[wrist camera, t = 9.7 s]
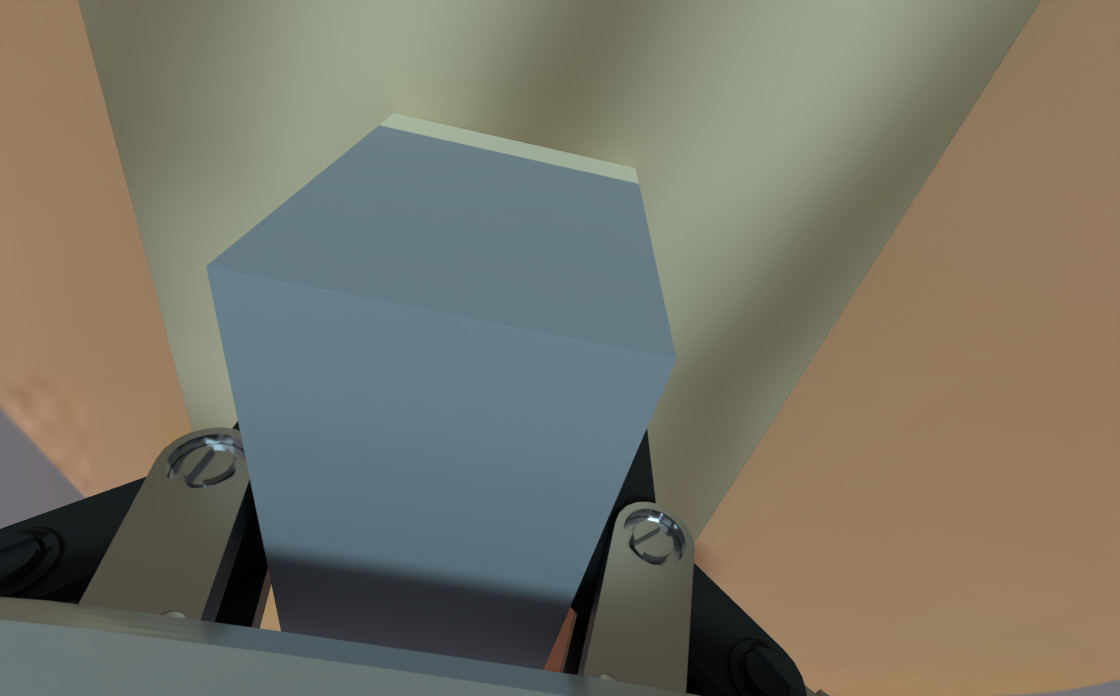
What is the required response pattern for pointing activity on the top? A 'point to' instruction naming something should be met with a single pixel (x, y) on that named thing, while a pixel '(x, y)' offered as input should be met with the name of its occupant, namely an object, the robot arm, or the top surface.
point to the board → (575, 127)
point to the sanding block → (442, 385)
